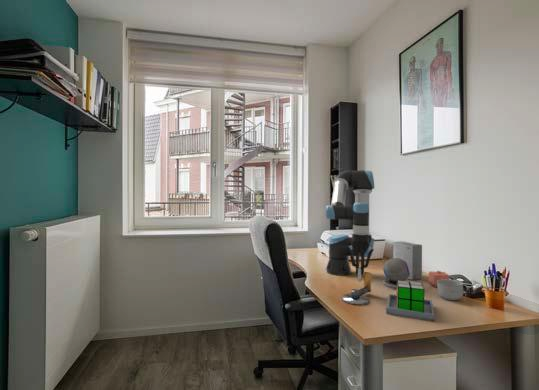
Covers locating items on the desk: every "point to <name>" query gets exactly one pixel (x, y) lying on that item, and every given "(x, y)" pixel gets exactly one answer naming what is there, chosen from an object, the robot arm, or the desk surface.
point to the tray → (394, 310)
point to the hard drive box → (410, 257)
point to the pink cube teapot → (437, 277)
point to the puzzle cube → (410, 296)
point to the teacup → (450, 289)
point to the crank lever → (367, 286)
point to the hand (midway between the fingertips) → (359, 280)
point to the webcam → (395, 272)
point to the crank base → (355, 300)
